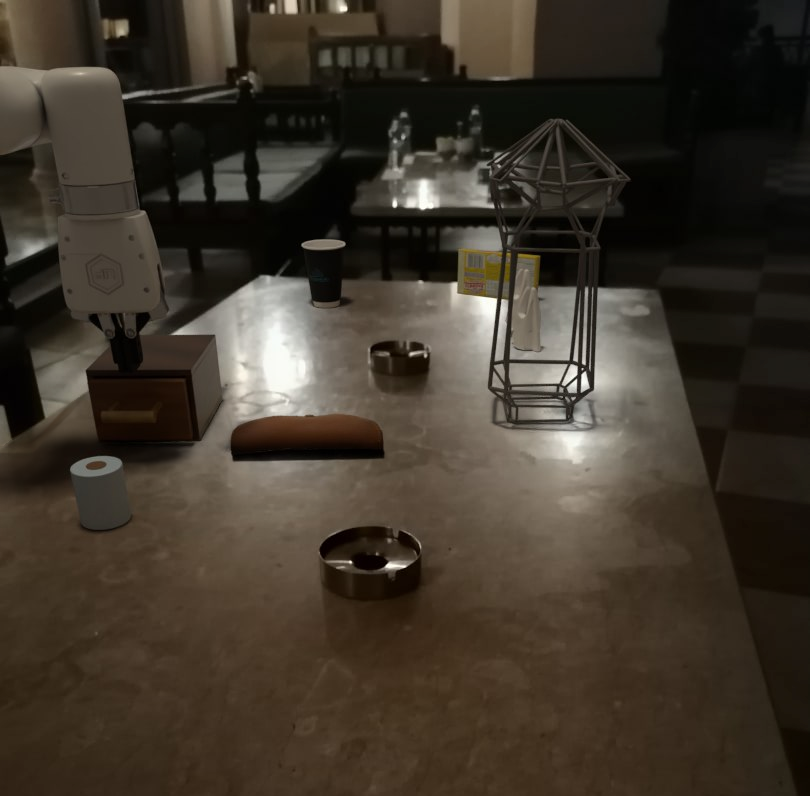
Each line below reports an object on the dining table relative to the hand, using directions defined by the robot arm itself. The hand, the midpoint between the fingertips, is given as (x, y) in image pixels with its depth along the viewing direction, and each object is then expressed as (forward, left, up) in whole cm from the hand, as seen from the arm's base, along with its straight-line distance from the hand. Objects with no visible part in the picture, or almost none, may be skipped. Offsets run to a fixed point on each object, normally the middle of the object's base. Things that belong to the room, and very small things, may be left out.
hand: (130, 369), depth 104 cm
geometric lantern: (+49, +13, -11) cm, 51 cm away
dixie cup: (+16, +69, -11) cm, 71 cm away
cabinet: (0, +11, -10) cm, 15 cm away
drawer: (0, +6, -9) cm, 11 cm away
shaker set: (+50, +45, -11) cm, 68 cm away
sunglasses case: (+20, +2, -11) cm, 22 cm away
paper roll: (+1, -17, -10) cm, 20 cm away
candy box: (+48, +74, -11) cm, 89 cm away
